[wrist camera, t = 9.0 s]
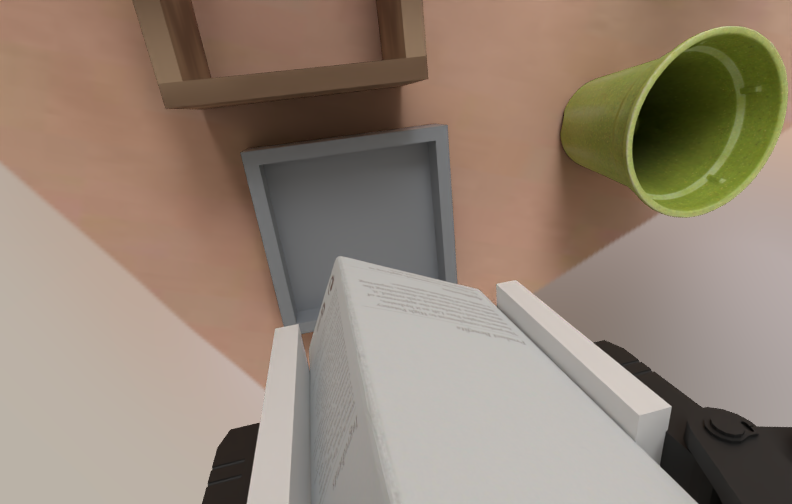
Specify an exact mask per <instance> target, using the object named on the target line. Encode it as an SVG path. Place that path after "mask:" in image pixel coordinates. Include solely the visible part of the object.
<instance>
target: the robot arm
mask: <svg viewBox="0 0 792 504" xmlns="http://www.w3.org/2000/svg"><path fill="white" fill-rule="evenodd" d="M496 291H497V308H498V309H499V310H500V311H501V312H502V313H503V314H505V315H506V316H507V317H508V318H509V319H510V320H511V321H512V322H513V323H514V324H515V325H516V326H517V327H518V328H519V329H520V330H521V331H522V332H523V333H524V334H525V335H526V336H527V337H528V338H529V339H530V340H531V341H532V342H533V343H534V344H535V345H536V346H537V347H538V348H539V349H540V350H541V351H542V352H543V353H544V354H545V355H546V356H548V357H549V358H550V359H551V360H552V361H553V362H554V363H555V364H556V365H557V366H558V367H559V368H560V369H561V370H562V371H563V372H564V373H565V374H566V375H567V376H568V377H569V378H570V379H571V380H572V381H573V382H574V383H575V384H576V385H577V386H578V387H579V388H580V389H581V390H582V391H583V392H584V393H585V394H586V395H587V396H588V397H589V398H591V399H592V400H593V401H594V402H595V403H596V404H597V405H598V406H599V407H600V408H601V409H602V410H603V411H604V412H605V413H606V414H607V415H608V416H609V417H610V418H611V419H612V420H613V421H614V422H615V423H616V424H617V425H618V426H619V427H620V428H621V429H622V430H623V431H624V432H625V433H626V434H627V435H628V436H629V437H630V438H632V439H633V440H634V441H635V442H636V443H637V444H638V445H639V446H640V447H641V448H642V449H643V450H644V451H645V452H646V453H647V454H648V455H649V456H650V457H651V458H652V459H653V460H654V461H655V462H656V463H657V464H658V465H659V466H660V467H661V468H662V469H663V470H664V471H665V472H666V473H667V474H668V475H669V476H670V477H671V478H673V479H674V480H675V481H676V482H677V483H678V484H679V485H680V486H681V487H682V488H683V489H684V490H685V491H686V492H687V493H688V494H689V495H690V496H691V497H692V498H693V499H694V500H695V501H696V502H697V503H698V504H792V427H757V426H755V425H754V424H753V423H752V422H750V421H749V420H747V419H745V418H743V417H741V416H739V415H737V414H735V413H732V412H729V411H726V410H723V409H717V408H709V407H706V408H702V407H701V406H699V405H698V404H697V403H695V402H694V401H692V400H691V399H690V398H689V397H687V396H686V395H685V394H683V393H682V392H681V391H679V390H678V389H677V388H675V387H674V386H673V385H671V384H670V383H669V382H667V381H666V380H665V379H663V378H662V377H661V376H659V375H658V374H657V373H655V372H652V371H651V369H650V368H649V367H647V366H646V365H645V364H643V363H642V362H639V360H638V359H637V358H635V357H634V356H633V355H632V354H630V353H629V352H627V351H626V350H625V349H624V348H621V347H619V346H616V345H614V344H612V343H610V342H607V341H605V340H604V341H599V342H595V343H593V342H591V341H590V340H589V339H588V338H587V337H585V336H584V335H583V334H582V333H581V332H579V331H578V330H577V329H576V328H574V327H573V326H572V325H571V324H569V323H568V322H567V321H566V320H565V319H563V318H562V317H561V316H559V315H558V314H557V313H556V312H555V311H553V310H552V309H551V308H550V307H548V306H547V305H546V304H545V303H544V302H542V301H541V300H540V299H539V298H537V297H536V296H535V295H534V294H533V293H531V292H530V291H529V290H528V289H526V288H525V287H524V286H523V285H521V284H520V283H519V282H518V281H517V280H514V281H509V282H504V283H499V284H496ZM212 468H213V469H212V471H211V473H210V477H209V480H208V487H207V488H206V491H205V495H204V499H203V502H202V504H311V465H310V370H309V366H308V362H307V358H306V353H305V349H304V345H303V340H302V336H301V332H300V328H299V324H296V325H291V326H286V327H281V328H276V329H275V333H274V339H273V345H272V352H271V358H270V364H269V370H268V376H267V382H266V389H265V395H264V401H263V407H262V413H261V419H260V423H257V424H252V425H248V426H244V427H240V428H235V429H231V430H230V431H229V432H228V434H227V435H226V437H225V438H224V439H223V441H222V442H221V444H220V445H219V446H218V449H217V451H216V456H215V459H214V462H213V466H212Z"/></svg>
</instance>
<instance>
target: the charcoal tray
mask: <svg viewBox="0 0 792 504" xmlns="http://www.w3.org/2000/svg"><path fill="white" fill-rule="evenodd" d="M240 153H241V157H242V161H243V165H244V169H245V173H246V177H247V181H248V185H249V189H250V193H251V197H252V201H253V205H254V209H255V213H256V217H257V221H258V225H259V229H260V233H261V237H262V241H263V245H264V249H265V253H266V257H267V261H268V265H269V269H270V273H271V277H272V281H273V285H274V289H275V293H276V297H277V301H278V305H279V309H280V313H281V317H282V321H283V325H284V327H286V326H291V325H296V324H299V328H300V332H301V334H304V333H309V332H314V329H315V326H316V322H317V319H318V316H319V312H320V309H321V305H322V302H323V299H324V295H325V292H326V289H327V285H328V282H329V279H330V276H331V273H332V269H333V266H334V262H335V260H336V258H337V257H338V256H342V257H347V258H352V259H356V260H360V261H364V262H368V263H372V264H376V265H380V266H384V267H388V268H392V269H397V270H401V271H405V272H409V273H413V274H417V275H421V276H426V277H430V278H434V279H438V280H442V281H446V282H450V283H454V284H457V270H456V254H455V238H454V222H453V206H452V190H451V174H450V158H449V142H448V126H447V125H443V124H430V125H422V126H414V127H407V128H399V129H392V130H384V131H377V132H369V133H362V134H354V135H346V136H339V137H331V138H324V139H316V140H309V141H301V142H293V143H286V144H278V145H271V146H263V147H256V148H248V149H246V150H244V151H242V152H240Z"/></svg>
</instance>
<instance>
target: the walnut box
mask: <svg viewBox="0 0 792 504" xmlns="http://www.w3.org/2000/svg"><path fill="white" fill-rule="evenodd" d="M132 1H133V4H134V7H135V11H136V14H137V17H138V20H139V24H140V27H141V30H142V33H143V37H144V40H145V43H146V46H147V50H148V53H149V56H150V60H151V63H152V66H153V69H154V73H155V76H156V79H157V82H158V86H159V89H160V92H161V95H162V99H163V102H164V105H165V108H166V109H208V108H216V107H225V106H234V105H242V104H251V103H260V102H268V101H277V100H286V99H294V98H303V97H312V96H320V95H329V94H338V93H346V92H355V91H364V90H372V89H381V88H390V87H398V86H404V85H407V84H411V83H415V82H418V81H422V80H425V79H428V68H427V55H426V42H425V29H424V16H423V2H422V0H376V4H377V13H378V22H379V31H380V40H381V49H382V57H383V60H382V61H372V62H363V63H353V64H343V65H334V66H324V67H315V68H305V69H295V70H286V71H276V72H267V73H257V74H247V75H238V76H228V77H219V78H211V75H210V72H209V68H208V64H207V60H206V56H205V52H204V48H203V45H202V41H201V37H200V33H199V29H198V25H197V21H196V18H195V14H194V10H193V6H192V2H191V0H132Z"/></svg>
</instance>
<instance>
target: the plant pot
mask: <svg viewBox="0 0 792 504" xmlns="http://www.w3.org/2000/svg"><path fill="white" fill-rule="evenodd" d="M787 100H788V82H787V74H786V69H785V66H784V64H783V61H782V59H781V57H780V55H779V53H778V52H777V49H776V48H775V47H774V45H773V44H772V43H771V42H770V41H769V40H768V39H766V38H765V37H764V36H763V35H761V34H760V33H758V32H757V31H754V30H752V29H749V28H746V27H740V26H724V27H719V28H714V29H711V30H707V31H704V32H702V33H699V34H697V35H695V36H693V37H691V38H689V39H688V40H686V41H684V42H683V43H681V44H680V45H678V46H677V47H676V48H675V49H673V50H672V51H671V52H669V53H668V54H666V55H664V56H662V57H661V58H660V59H657V60H653V61H650V62H647V63H644V64H641V65H638V66H634V67H631V68H628V69H625V70H622V71H619V72H616V73H612V74H609V75H606V76H603V77H600V78H597V79H594V80H592V81H590V82H588V83H586V84H585V85H583V86H582V87H581V88H579V90H578V91H577V92H576V93H575V94H574V95H573V96H572V98H571V99H570V100H569V102H568V104H567V106H566V108H565V111H564V119H563V124H562V129H561V133H560V136H561V142H562V145H563V148H564V150H565V152H566V154H567V155H568V156H569V157H570V158H571V159H572V160H573V161H574V162H576V163H577V164H579V165H581V166H583V167H586V168H588V169H590V170H592V171H595V172H597V173H600V174H602V175H604V176H606V177H608V178H610V179H613V180H615V181H617V182H619V183H621V184H623V185H626V186H628V187H629V188H630V189H631V190H632V191H633V192H634V193H635V194H636V195H637V196H638V197H639V198H640V200H642V201H643V202H644V203H645V204H646V205H647V206H649V207H650V208H651V209H653V210H655V211H657V212H659V213H661V214H664V215H668V216H672V217H685V218H687V217H694V216H699V215H703V214H706V213H708V212H711V211H713V210H715V209H717V208H719V207H721V206H723V205H724V204H726V203H728V202H730V201H731V200H732V199H734V198H735V197H736V196H737V195H738V194H739V193H741V192H742V191H743V190H744V189H745V188H746V187H747V186H748V185H749V184H750V183H751V182H752V181H753V180H754V178H755V177H756V176H757V175H758V173H759V172H760V171H761V169H762V168H763V166H764V165H765V163H766V162H767V160H768V158H769V157H770V155H771V153H772V151H773V149H774V147H775V145H776V142H777V140H778V138H779V136H780V133H781V130H782V127H783V123H784V120H785V115H786V109H787Z"/></svg>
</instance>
